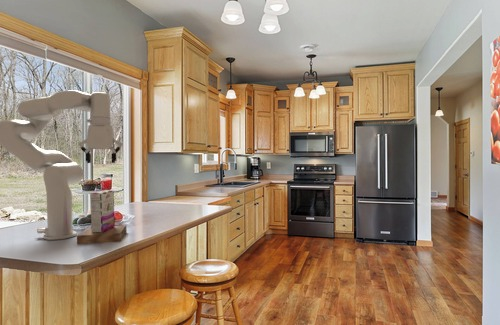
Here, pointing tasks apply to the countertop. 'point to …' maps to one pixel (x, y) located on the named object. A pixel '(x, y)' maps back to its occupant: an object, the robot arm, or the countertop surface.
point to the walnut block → (102, 235)
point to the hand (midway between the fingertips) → (101, 162)
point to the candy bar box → (102, 211)
